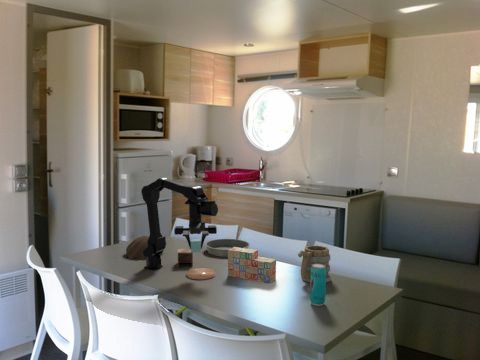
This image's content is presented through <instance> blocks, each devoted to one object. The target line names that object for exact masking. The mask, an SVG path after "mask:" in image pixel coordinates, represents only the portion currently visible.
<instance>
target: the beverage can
mask: <svg viewBox="0 0 480 360" xmlns="http://www.w3.org/2000/svg"><path fill="white" fill-rule="evenodd" d="M325 267H326V266H325V265H323V264H313V265H312V268H311V282H309V283H310V288H309V289H310V291H309V292H310V293H309V300H310V302H311V305H312V306H315V307H321V306H324V304H325V302H326V294H327V293H326V290H327V287H326V286H327V282H326V268H325Z"/></svg>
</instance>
